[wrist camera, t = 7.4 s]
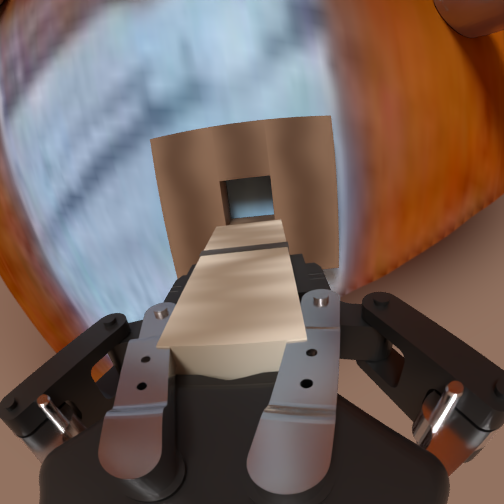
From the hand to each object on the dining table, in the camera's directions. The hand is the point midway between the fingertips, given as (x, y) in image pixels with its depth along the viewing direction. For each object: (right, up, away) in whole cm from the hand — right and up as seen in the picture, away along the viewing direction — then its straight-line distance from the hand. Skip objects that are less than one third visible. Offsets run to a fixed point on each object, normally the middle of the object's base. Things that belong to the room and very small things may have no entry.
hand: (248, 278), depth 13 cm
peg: (0, +1, +3) cm, 3 cm away
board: (0, +8, +18) cm, 20 cm away
